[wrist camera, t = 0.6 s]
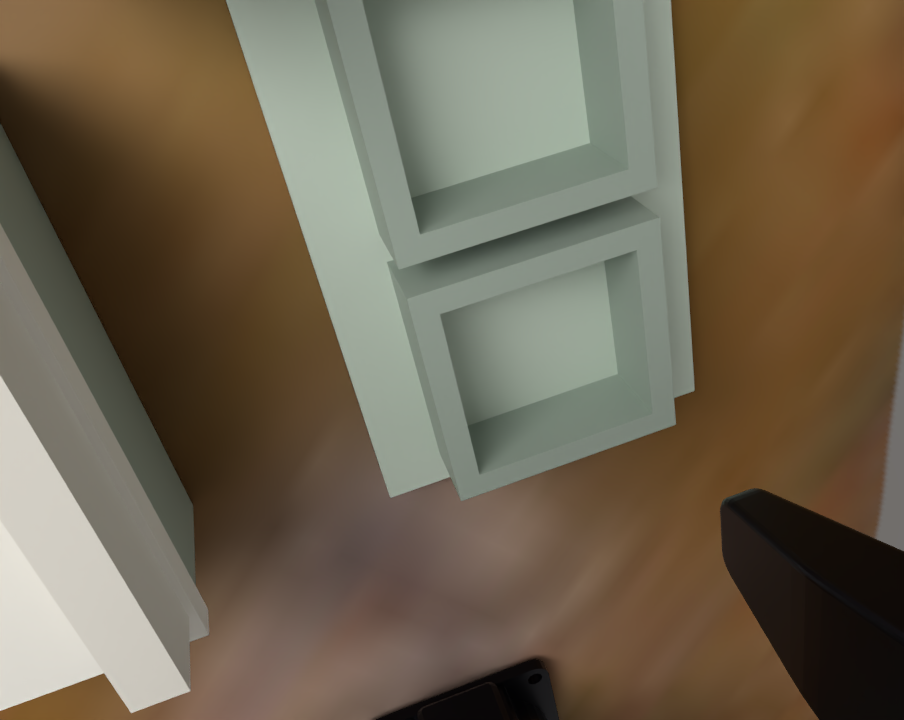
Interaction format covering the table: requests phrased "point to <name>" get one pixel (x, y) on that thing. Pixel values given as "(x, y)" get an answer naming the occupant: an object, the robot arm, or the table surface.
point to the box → (92, 350)
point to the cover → (77, 531)
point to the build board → (486, 220)
